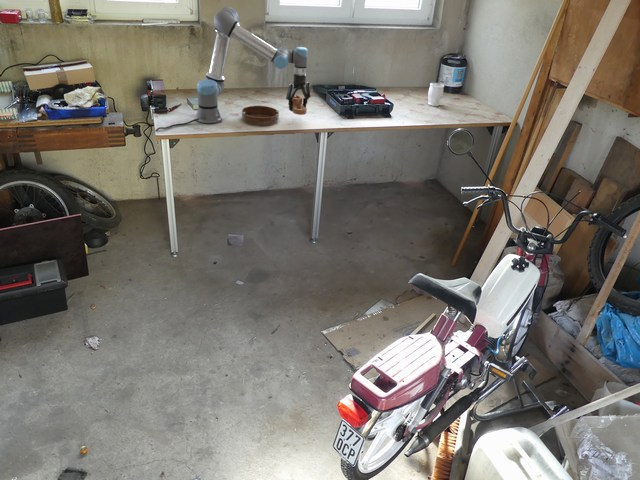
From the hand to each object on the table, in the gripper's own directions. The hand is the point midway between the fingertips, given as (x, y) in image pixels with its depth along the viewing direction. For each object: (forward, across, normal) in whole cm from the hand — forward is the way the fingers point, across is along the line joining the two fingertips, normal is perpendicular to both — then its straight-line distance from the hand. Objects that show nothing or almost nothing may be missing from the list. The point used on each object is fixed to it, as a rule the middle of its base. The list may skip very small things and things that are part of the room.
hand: (297, 109), depth 336 cm
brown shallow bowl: (+8, -21, +11) cm, 25 cm away
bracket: (0, 0, 0) cm, 0 cm away
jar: (+7, +116, -6) cm, 117 cm away
